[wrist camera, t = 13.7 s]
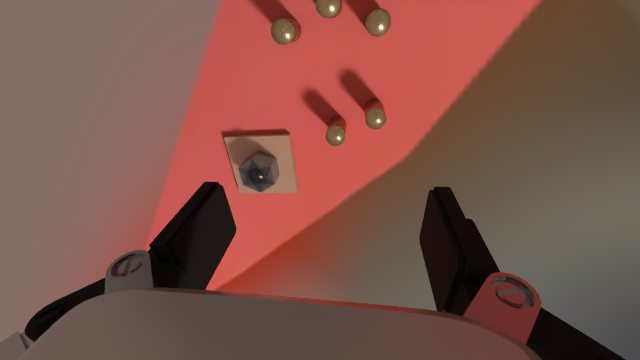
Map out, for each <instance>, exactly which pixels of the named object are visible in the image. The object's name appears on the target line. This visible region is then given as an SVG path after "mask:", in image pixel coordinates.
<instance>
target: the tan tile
mask: <svg viewBox="0 0 640 360" xmlns="http://www.w3.org/2000/svg"><path fill="white" fill-rule="evenodd" d="M224 140H225V144H226V147H227V151H228V154H229V157H230V161H231V164H232V168H233V171H234V175H235V178H236V182H237V185H238V188H239V192H240V193H260V192H258V191H256V190H253V189H251V188H249V187H246V186H244V185H243V184H242V180H241V177H240V174H239V170H238V167H239V166H240V165H241V164H242V163H243V161H244V160H245V159H246V158H247V157H249V156H250V155H252V154H253V153H255V152H256V151H258V150H260V151H263V152H265V153H267V154H269V155H272V156H274V157H276V158H277V163H278V167H279V172H280V175H279V177H278V179H277V181H276V183H275V184H274V185H273V186H271V187H269V188H268V189H266V190H264V191H263V192H261V193H298V191H299V189H298V183H297V176H296V169H295V163H294V156H293V149H292V143H291V136H290V133H286V134H258V135H230V136H225V137H224Z"/></svg>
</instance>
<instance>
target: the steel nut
mask: <svg viewBox="0 0 640 360" xmlns="http://www.w3.org/2000/svg"><path fill="white" fill-rule="evenodd" d="M238 170H239V174H240V177H241V180H242V184H243V185H244V186H246V187H249V188H251V189H253V190H256V191H258V192H260V193H261V192H263V191H264V190H266V189H268V188H269V187H271V186H273V185H274V184H275V183H276V181H277V179H278V177H279V175H280V172H279V167H278V163H277V158H276V157H274V156H272V155H269V154H267V153H265V152H263V151H260V150H258V151H256V152H255V153H253V154H252V155H250V156H249V157H247V158H246V159H245V160H244V161H243V163H242V164H241V165H240V166H239V167H238Z"/></svg>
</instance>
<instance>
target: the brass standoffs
mask: <svg viewBox="0 0 640 360" xmlns="http://www.w3.org/2000/svg"><path fill="white" fill-rule="evenodd" d="M316 9H317V11H318V13H319V14H320V15H321V16H323V17H325V18H334V17H336V16H338V15H339V13H340V12H341V9H342V0H316ZM390 24H391V17H390V15H389V13H388V12H387V11H386V10H385V9H382V8H378V9H375V10H373V11H371V12H370V13H369V14H368V15H367V17H366V20H365V26H366V29H367V31H368V32H369V33H370V34H371V35H373V36H382V35H384V34H385V33H386V32H387V31H388V29H389V27H390ZM271 34H272V37H273V39H274V40H275V41H276V42H277V43H278V44H281V45H285V44H288V43H291V42H294V41H296V40H298V39H299V37H300V35H301V26H300V24H299V23H298V22H297V21H296V20H295V19H277V20H276V21H274V23H273V24H272V27H271ZM365 118H366V124H367V126H368V127H370V128H371V129H379V128H381V127H383V126H384V124H385V122H386V115H385V111H384V108H383V105H382V103H381V102H380V101H379V100H370V101H369V102H368V103H367V104H366V106H365ZM345 132H346V122H345V120H344V119H343V118H342V117H334V118H332V119H331V120H330V122H329V126H328V129H327V133H326V140H327V142H328V143H329V144H330V145H333V146H338V145H341V144H342V143H343V142H344V139H345Z"/></svg>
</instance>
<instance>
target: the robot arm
mask: <svg viewBox="0 0 640 360" xmlns="http://www.w3.org/2000/svg"><path fill="white" fill-rule="evenodd" d="M235 233H236V225H235V222H234V219H233V216H232V213H231V210H230V207H229V203H228V200H227V197H226V194H225V191H224V188H223V186H222V185H220V184H219V183H218V182H204V183H203V184H202V186H201V187H200V188H199V189H198V190H197V191H196V192H195V194H194V195H193V196H192V197H191V198H190V199H189V200H188V202H187V203H186V204H185V205H184V206H183V207H182V208H181V209H180V211H179V212H178V213H177V214H176V215H175V216H174V217H173V219H172V220H171V221H170V222H169V223H168V224H167V225H166V227H165V228H164V229H163V230H162V231H161V232H160V233H159V235H158V236H157V237H156V238H155V239H154V240H153V241H152V243H151V244H150V245H149V246H150V247H151V249H150V250H149V251H148V252H147V251H145V250H134V251H131V252H128V253H126V254H124V255H122V256H120V257H119V258H117V259H116V260H115V261H114V262H113V263H112V264H111V265H110V266H109V267H108V269H107V272H106V277H105V278H103V279H101V280H99V281H97V282H95V283H93V284H91V285H88V286H86V287H84V288H82V289H80V290H78V291H75V292H73V293H71V294H69V295H67V296H65V297H63V298H61V299H58V300H56V301H54V302H52V303H51V304H49V305H47V306H45V307H44V308H43V309H41V310H40V311H39V312H37V313H36V314H35V315H34V316H33V317H32V319H31V320H30V321H29V322H28V324H27V326H26V328H25V332H23V333H21V334H20V333H19V332H16V333H14V334H13V335H11V336H10V337H8V338H7V339H5V340H3V341H2V342H0V360H625V359H623V358H622V357H621V356H619V355H617V354H616V353H614V352H613V351H611V350H609V349H608V348H606V347H605V346H603V345H601V344H600V343H598V342H596V341H595V340H593V339H592V338H590V337H588V336H587V335H585V334H583V333H582V332H580V331H579V330H577V329H575V328H574V327H572V326H570V325H569V324H567V323H566V322H564V321H562V320H561V319H559V318H558V317H556V316H554V315H553V314H551V313H550V312H548V311H546V310H545V309H543V308H541V299H540V297H539V294H538V293H537V292H536V290H535V289H534V288H533V287H532V286H531V285H530V284H529V283H528V282H526V281H525V280H523V279H521V278H520V277H517V276H515V275H512V274H509V273H504V272H500V271H499V269H498V267H497V265H496V263H495V261H494V259H493V257H492V256H491V254H490V252H489V250H488V248H487V246H486V244H485V242H484V240H483V239H482V237H481V235H480V233H479V231H478V229H477V227H476V225H475V223H474V222H473V220H471V219H466V218H465V216H464V214H463V212H462V210H461V208H460V206H459V204H458V202H457V200H456V198H455V196H454V194H453V192H452V190H451V189H450V187H435V188H434V190H430V191H429V194H428V198H427V203H426V208H425V213H424V218H423V222H422V228H421V232H420V245H421V249H422V253H423V257H424V261H425V265H426V268H427V273H428V277H429V280H430V284H431V288H432V292H433V296H434V300H435V304H436V308H437V311H432V310H426V309H417V308H408V307H398V306H389V305H378V304H367V303H356V302H344V301H333V300H321V299H310V298H297V297H285V296H273V295H260V294H248V293H236V292H223V291H210V290H205V289H206V287H207V285H208V283H209V281H210V280H211V278H212V276H213V274H214V272H215V270H216V269H217V267H218V265H219V263H220V261H221V259H222V258H223V256H224V254H225V252H226V250H227V248H228V246H229V245H230V243H231V241H232V239H233V237H234V235H235Z"/></svg>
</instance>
